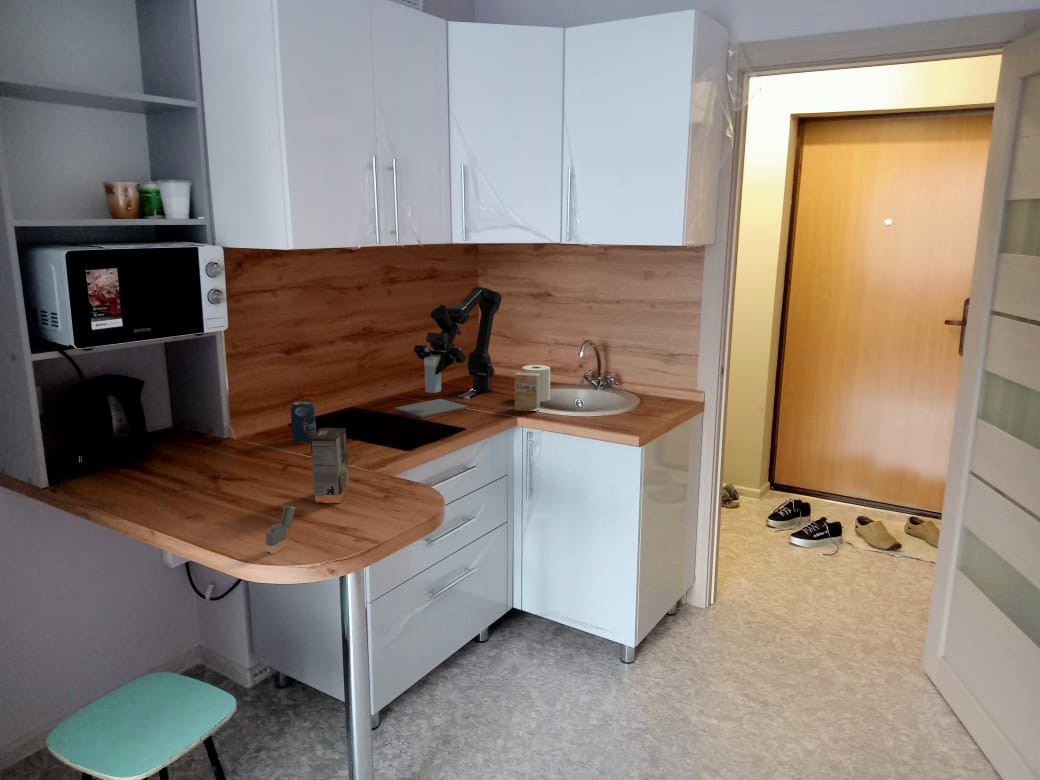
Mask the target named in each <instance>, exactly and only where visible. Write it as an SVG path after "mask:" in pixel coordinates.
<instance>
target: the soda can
mask: <svg viewBox="0 0 1040 780" xmlns="http://www.w3.org/2000/svg"><path fill="white" fill-rule="evenodd" d="M315 409H316V408H315V405H314V404H313V401H312V400H307V399H306V400H305V399H304V400H302V399H301V400H296V401H293V402H292V404H291V406H290V421H291V435H292V437H291V438H292V439H293V441H294V442H295V441H296V442H310V438H311V437H312V436H313V435H314V434H315V433H316V432H317V424H316V412H315V411H316V410H315ZM296 442H295V443H296Z"/></svg>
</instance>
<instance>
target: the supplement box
mask: <svg viewBox="0 0 1040 780" xmlns="http://www.w3.org/2000/svg"><path fill="white" fill-rule="evenodd" d="M540 405H541V402H540V374H535V373H522V371H521V372H520V371H519V372H516V373H515V374H514V411H519V412H520V411H521V412H527V411H526V410H534V409H537V408H539V407H540V408H541V406H540Z"/></svg>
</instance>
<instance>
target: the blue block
mask: <svg viewBox="0 0 1040 780" xmlns="http://www.w3.org/2000/svg"><path fill="white" fill-rule="evenodd" d="M440 359H441V356H429V357H425V358H424V360H423V365H424V368H425V372H424V392H425V393H431V394H432V393H433V394H436V393H439V392H441V391H442V371H441V372H440V373H439V374H437V375H436V374H435V371H436V368H437V366H438V364H439V361H440Z"/></svg>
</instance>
